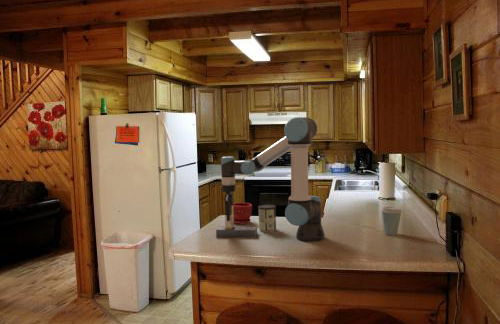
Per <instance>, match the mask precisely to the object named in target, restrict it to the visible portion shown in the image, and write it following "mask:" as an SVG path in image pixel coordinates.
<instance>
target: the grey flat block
mask: <svg viewBox="0 0 500 324" xmlns="http://www.w3.org/2000/svg"><path fill="white" fill-rule="evenodd" d="M215 235H216V238H218V237H219V238H257V236H258V226H235V225H234V229H226V225H224V226H222V225H221V226H218V227H217V228H216V230H215Z"/></svg>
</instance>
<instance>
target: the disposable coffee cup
mask: <svg viewBox="0 0 500 324" xmlns="http://www.w3.org/2000/svg"><path fill="white" fill-rule="evenodd" d="M380 211H381V215H382V216H381V217H382V224H383V233H384V234H385V235H387V236H391V237H392V236H397V234H398V231H399V227H400V226H399V225H400V221H401V216H402V215H401V214H402V209H401V208H400V207H394V206H382V208H381V210H380Z"/></svg>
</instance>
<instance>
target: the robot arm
mask: <svg viewBox="0 0 500 324" xmlns="http://www.w3.org/2000/svg"><path fill="white" fill-rule="evenodd" d="M283 132H284V137H282V138H281V139H279V140H278V141H277V142H275V143H273V144H272V145H271V146H270V147H268V148H266V149H265V150H263V151H262V152H261V153H259V154H257V155H256V156H255V157H253V158H252V159H245V160H235V156H222V157H221V161H220V162H221V164H220V169H221V170H220V171H221V178H220V181H221V192H224V193H225V194H224V216H225V215H226V225H225V226H226V227H231V205H233V203H234V194H233V193H232V192H235V191H236V185H235V184H236V175H246V176H249V175H250V176H251V175H253V174H254V173H257V172H258V173H259V172H261V171H262V170H263V169H264V168H265V167H266V166H268V165H270V164H271V163H272V162H274V161H275V160H277V159H279V158H280V157H282V156H283V155H285V154H286V153H288V152H289V151H290V187H291V188H290V191H291V192H290V195H289V197H287V198H288V201H287V204H288V205H287V206H286V208H285V211H284V215H285V216H284V217H285V218H286V221H288V223H289V224H291V225H292V226H298V227H297V231H296V233H295V234H296V240H299V241H303V242H310V243H311V242H320V241H323V240H325V238H326V237H325V235H326V234H325V232H324V228H323V225H322V199H321V197H320V196H317V195H309V147H310V146H312V139H313V138H314V137H315V136H316V135H317V133H318V125H317V123H316V121H315V120H314V119H312V118H311V117H300V116H298V117H293V118H290V119H289V120H288V121H287V122H286V123H285V125H284V128H283ZM233 213H234V211H233Z"/></svg>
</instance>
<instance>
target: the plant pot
mask: <svg viewBox="0 0 500 324" xmlns="http://www.w3.org/2000/svg"><path fill="white" fill-rule="evenodd" d="M233 211H234V224H237V225H246V224H248V223H250V222H251V216H252V212H253V205H252V204H251V203H249V202H233Z"/></svg>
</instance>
